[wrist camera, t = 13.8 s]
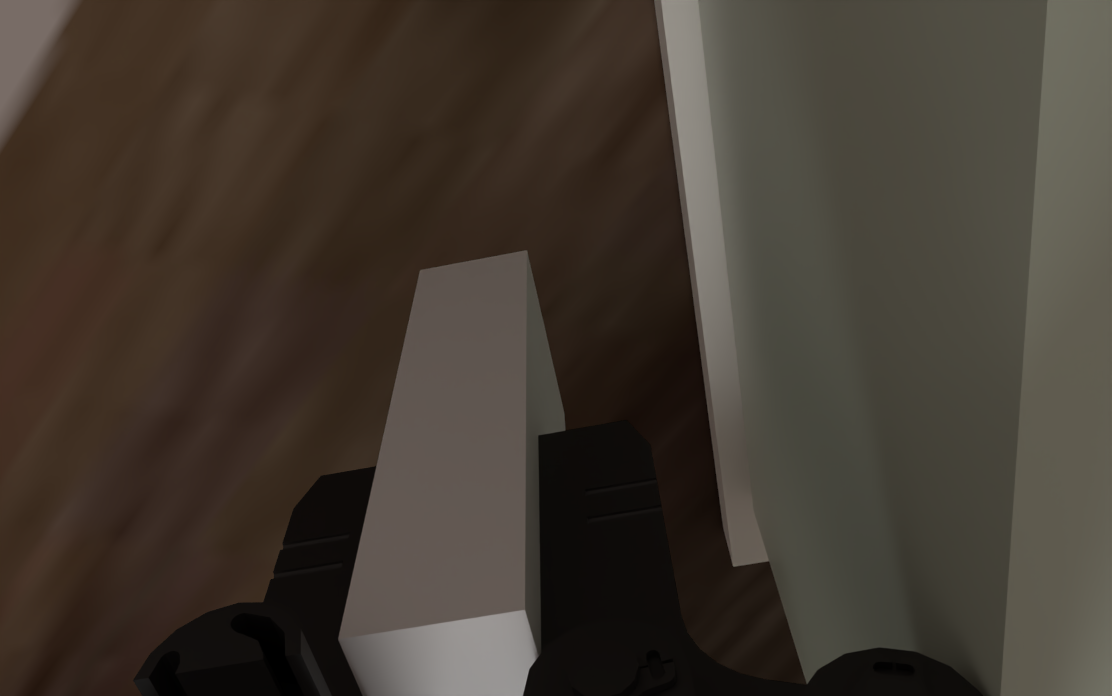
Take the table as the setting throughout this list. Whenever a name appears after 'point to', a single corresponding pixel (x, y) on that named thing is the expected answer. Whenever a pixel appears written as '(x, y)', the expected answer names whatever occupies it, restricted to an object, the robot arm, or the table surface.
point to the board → (708, 269)
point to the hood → (926, 323)
